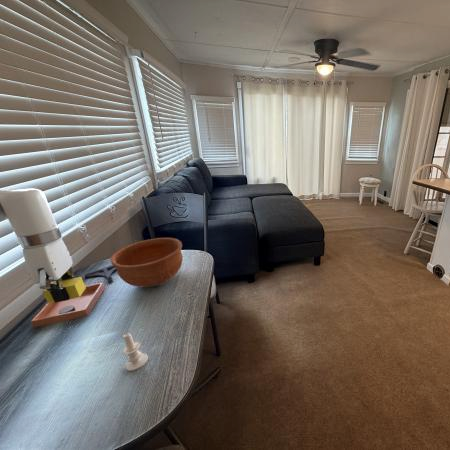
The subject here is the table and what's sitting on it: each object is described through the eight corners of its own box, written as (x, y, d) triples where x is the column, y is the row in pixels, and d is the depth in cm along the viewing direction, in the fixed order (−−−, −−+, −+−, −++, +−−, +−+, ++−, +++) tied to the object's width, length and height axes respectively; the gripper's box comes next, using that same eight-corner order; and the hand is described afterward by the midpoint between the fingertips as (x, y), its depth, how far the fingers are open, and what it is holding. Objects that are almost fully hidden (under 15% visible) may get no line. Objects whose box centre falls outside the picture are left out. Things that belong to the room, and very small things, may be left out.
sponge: (48, 303, 65) (42, 291, 64) (56, 294, 69) (50, 282, 68) (79, 296, 68) (74, 285, 66) (86, 288, 72) (81, 276, 70)
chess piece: (130, 356, 67) (119, 327, 63) (150, 352, 68) (141, 324, 64) (121, 373, 62) (109, 343, 58) (143, 369, 63) (133, 339, 59)
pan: (34, 328, 77) (30, 321, 76) (61, 297, 92) (58, 290, 91) (88, 316, 82) (85, 309, 81) (105, 288, 97) (103, 282, 96)
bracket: (89, 291, 96) (87, 285, 95) (85, 276, 106) (83, 271, 105) (131, 276, 105) (129, 271, 104) (123, 264, 115) (122, 259, 114)
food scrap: (59, 319, 80) (57, 314, 80) (62, 312, 83) (60, 308, 83) (74, 315, 82) (72, 310, 82) (77, 308, 85) (75, 303, 85)
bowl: (185, 261, 117) (179, 233, 112) (192, 287, 97) (184, 254, 91) (124, 276, 106) (114, 245, 100) (117, 309, 85) (104, 273, 80)
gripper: (40, 228, 68) (64, 282, 75) (-3, 253, 53) (32, 318, 60) (73, 224, 71) (94, 277, 77) (41, 247, 56) (70, 310, 62)
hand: (66, 294), depth 68 cm, fingers closed on sponge, 4 cm apart
